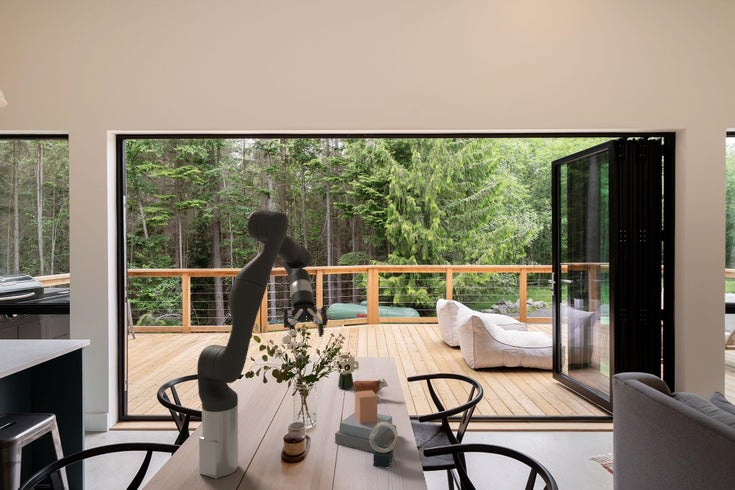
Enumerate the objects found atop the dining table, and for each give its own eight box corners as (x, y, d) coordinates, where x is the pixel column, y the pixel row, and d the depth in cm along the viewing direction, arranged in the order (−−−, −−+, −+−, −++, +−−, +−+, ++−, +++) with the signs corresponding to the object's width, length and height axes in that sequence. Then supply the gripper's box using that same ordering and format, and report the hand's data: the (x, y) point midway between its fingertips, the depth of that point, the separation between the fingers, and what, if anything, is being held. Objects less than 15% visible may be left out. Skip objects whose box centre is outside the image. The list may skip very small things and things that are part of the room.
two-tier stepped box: (376, 453, 137) (376, 432, 137) (335, 443, 144) (335, 423, 144) (396, 434, 150) (396, 415, 149) (357, 426, 156) (357, 408, 156)
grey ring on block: (371, 455, 135) (371, 417, 135) (398, 459, 134) (399, 420, 133) (366, 465, 130) (366, 425, 130) (395, 468, 128) (395, 428, 128)
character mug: (330, 389, 193) (330, 357, 193) (336, 383, 200) (336, 353, 200) (355, 391, 190) (355, 359, 190) (361, 386, 197) (361, 355, 197)
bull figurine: (388, 401, 180) (388, 379, 179) (352, 400, 180) (352, 379, 180) (387, 397, 184) (387, 376, 184) (353, 396, 184) (353, 376, 184)
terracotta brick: (377, 421, 145) (377, 395, 144) (359, 424, 143) (360, 397, 143) (371, 415, 150) (371, 390, 150) (355, 417, 148) (355, 391, 148)
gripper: (281, 289, 157) (286, 331, 146) (323, 288, 161) (331, 328, 151) (279, 303, 162) (284, 344, 152) (320, 301, 167) (327, 341, 156)
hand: (307, 336), depth 151 cm, fingers open, 8 cm apart
